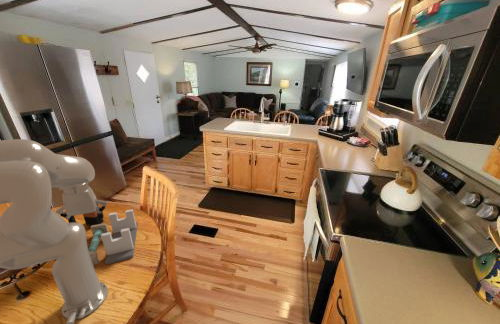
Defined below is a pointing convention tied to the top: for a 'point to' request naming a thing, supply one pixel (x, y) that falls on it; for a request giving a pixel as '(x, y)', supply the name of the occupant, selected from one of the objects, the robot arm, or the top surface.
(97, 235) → the dowel bar
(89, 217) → the battery
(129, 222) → the stand
